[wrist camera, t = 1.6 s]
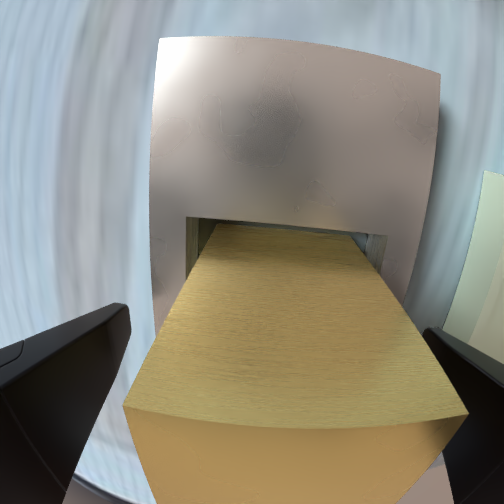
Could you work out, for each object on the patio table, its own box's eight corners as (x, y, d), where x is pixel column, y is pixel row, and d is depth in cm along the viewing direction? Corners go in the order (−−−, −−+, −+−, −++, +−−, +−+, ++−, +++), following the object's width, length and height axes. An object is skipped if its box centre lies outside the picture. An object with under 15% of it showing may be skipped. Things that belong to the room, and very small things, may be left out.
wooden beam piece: (349, 235, 11) (468, 413, 3) (326, 343, 12) (365, 531, 5) (217, 223, 11) (122, 404, 3) (213, 334, 12) (166, 525, 5)
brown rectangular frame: (415, 81, 9) (440, 73, 7) (335, 430, 14) (339, 457, 12) (176, 53, 9) (159, 38, 7) (179, 419, 14) (171, 446, 13)
